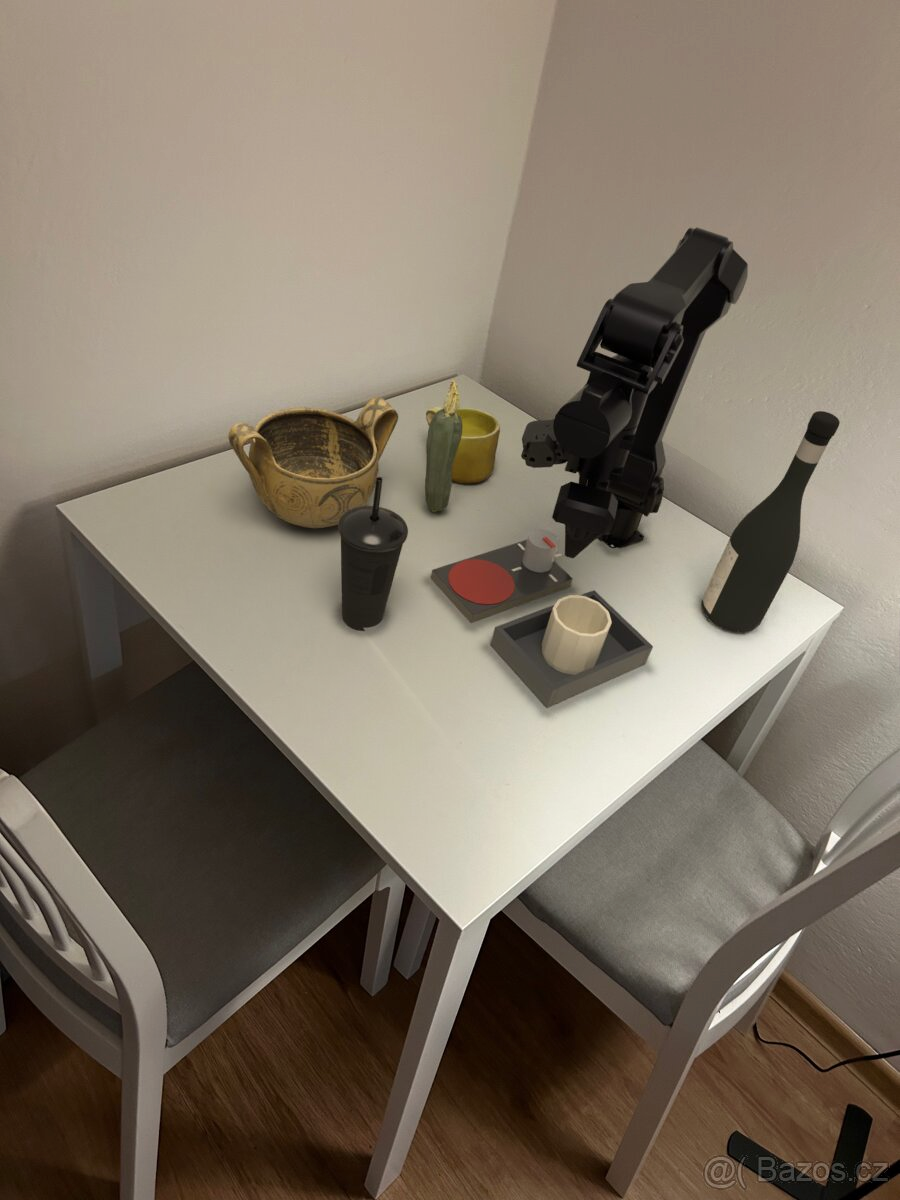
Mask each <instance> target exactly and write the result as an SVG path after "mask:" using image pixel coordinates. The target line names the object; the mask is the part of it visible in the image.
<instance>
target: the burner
mask: <svg viewBox="0 0 900 1200" xmlns="http://www.w3.org/2000/svg"><path fill="white" fill-rule="evenodd" d="M464 560H465V559H464ZM461 561H462V560H461ZM448 580H449V584H450V586H451V588H452V589H453V590H454V591H455V592H456V593H457V594H458V595H459V596H461V597H462V598H464V599H466V600H468V601H470V602H474V603H477V604H484V605H491V604H498V603H501V602H503V601H505V600H507V599H508V598H510V596H511V595H512V594H513V592H514V587H515V585H514V580H513V578H512V577H511V575H510V574H509V573H508V572H507V571H506V570H505V569H504V568H502V567H501V566H499V565H497V564H495V563H492V562H489V561H486V560H479V559H471V560H465V561H462V562H459V563H457V564H456V565H454V566H453V567H452V568H451V570H450V572H449V576H448Z"/></svg>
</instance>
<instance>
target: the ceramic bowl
mask: <svg viewBox="0 0 900 1200" xmlns="http://www.w3.org/2000/svg"><path fill="white" fill-rule="evenodd" d="M358 414H359V415H358V416H357V418H356V420H354V419H353V418H350V417H348V416H346V415H343V414H341V413H339V412H335V411H330V410H327V409H324V408H316V407H291V408H284V409H280V410H278V411H274V412H272V413H269V414H267V415H266V416H265V417H263V418H262V419H260V421H258V422H257V424H256V425H255V427H254V426H252V425H250V424H249V423H246V422H238V423H235V424H233V425H232V427H230V429H229V432H228V437H227V439H228V442H229V445H230V447H231V448H232V450H233V452H234V453H235V455H236V456H237V458H238V460H239V462H240V463H241V464H242V466H243V468H244V470H245V471H246V472H247V473H248V475H249V479H250V481H251V483H252V485H253V488H254V490H255V492H256V494H257V496H258V497H259V499H260V500H261V502H262V503H263V504H264V505H265V506H266V507H267V508H268V510H270V511H271V513H273V514H274V515H275V516H277V517H278V518H279V519H281V520H283V521H285V522H286V523H289V524H291V525H295V526H298V527H302V528H308V529H324V528H330V527H333V526H338V523H339V520H340V518H341V516H342V515H343V514H344V513H345V512H347V511H349V510H351V509H353V508H356V507H361V506H366V504H367V503H368V501H369V500H370V498H371V496H372V495H373V493H374V491H375V484H376V478H377V477H378V475H379V469H380V468H379V461H380V459H381V457H382V456H383V453H384V451H385V449H386V447H387V444H388V442H389V441H390V438H391V436H392V434H393V432H394V430H395V428H396V426H397V423H398V421H399V413H398V412H397V410H396V409H395V408H394V407H393V406H392V405H391V404H390V403H389V402H388V401H387V400H386V399H385V398H383V397H381V396H375V397H372V398H371V399H370V400H368V402H367V403H366V404H365V405H364V407H363V408H362V410H361V411H360V413H358ZM249 440H250V444H249V450H248V455H247V453H246V451H245V449H244V448H245V447H244V446H245V445H246V443H247V442H249Z"/></svg>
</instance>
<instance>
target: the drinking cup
mask: <svg viewBox="0 0 900 1200" xmlns="http://www.w3.org/2000/svg"><path fill="white" fill-rule="evenodd" d="M382 486H383V477H380V476H377V478H376V484H375V487H374V492H373V501H372V505H364V506H361V507H356V508H353V509H351V510H349V511H347V512H345V513H344V514H343V515H342V516H341V518H340V520H339V523H338V524H337V529H338V534H339V535H340V566H341V567H340V573H341V574H340V575H341V577H340V581H341V619H342V620H343V622H344V624H346V625H347V626H348V627H349V628H351V629H353V630H356V631H364V632H365V631H366V629H368V628H372V627H376V626H377V625H379V624H380V623H381V622H382V621H383V618H384V616H385V612H386V608H387V603H388V600H389V596H390V593H391V590H392V586H393V583H394V582H393V581H394V578H395V574H396V570H397V567H398V563H399V561H400V556H401V552H402V548H403V545H404V543H405V542H406V541H407V539H408V536H409V528H408V524H407V522H406V520H404V518H403V517H402V516H400V515H399V514H398V513H397V512H395V511H393V510H390V509H388V508H386V507H382V506H380V504H381V495H382V488H383V487H382Z"/></svg>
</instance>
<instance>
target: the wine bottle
mask: <svg viewBox="0 0 900 1200" xmlns="http://www.w3.org/2000/svg"><path fill="white" fill-rule="evenodd" d="M839 419H840V418H838V417H837V416H836V415H834V413H830V412H828V411H824V410H823V411H822V410H818V411H815V412H813V413H812V415H811V417H810V418H809V421H808V423H807V428H806V430H805V433H804V435H803V437H802V439H801V441H800V443H799V445H798V448H797V450H796V451H795V453H794V457H793V458H792V460H791V462H790V464H789V466H788V468H787V470H786V472H785V474H784V476H783V478H782V479H781V481H780V482H779V484H778V485H777V486H776V487H775V489H774V490H772V491H771V493H770V494H769V495H767V496H766V498H765V499H764V500H762V501H761V502H760V503H758V504H757V505H756V506H754V508H753V509H751V510H750V511H749V512H748V513H747V514H746V515H745V516H744V517H743V518H742V519H741V520H740V522H739V523H738V524H737V525H736V527H735V528H734V530H733V531H732V533H731V535H730V537H729V539H728V541H727V543H726V546H725V548H724V549H723V552H722V554H721V556H720V558H719V561H718V563H717V565H716V567H715V569H714V572H713V573H712V576H711V577H710V580H709V583H708V584H707V587H706V589H705V591H704V594H703V596H702V598H701V608H702V611H703V613H704V615H705V616H706V618H707V619H708V620H709V621H710V622H711V623H713V624H714V625H715V626H717V627H718V628H720V629H722V630H724V631H728V632H732V633H739V634H740V633H743V634H745V633H749V632H752V631H754V630H755V629H757V627H759V626H760V625H761V623H762V622H763V620H764V618H765V616H766V615H767V614H768V611H769V609H770V607H771V605H772V603H773V601H774V599H775V598H776V595H778V592H779V590H780V588H781V587H782V584H783V582H784V581H785V579H786V577H787V575H788V573H789V571H790V570H791V567H792V566H793V564H794V561H795V558H796V555H797V552H798V547H799V543H800V538H801V520H802V519H801V517H802V503H803V497H804V494H805V491H806V489H807V486H808V484H809V482H810V479H811V478H812V475H814V474H813V473H814V472H815V470H816V468H817V466H818V465H819V462H820V460H821V458H822V456H823V454H824V452H825V450H826V449H827V446H828V445H829V443H830V441H831V439H832V438H833V437H834V436H835V434H836V433H837V431H838V428H839V426H840V424H841V422H840V421H841V420H839Z"/></svg>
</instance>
